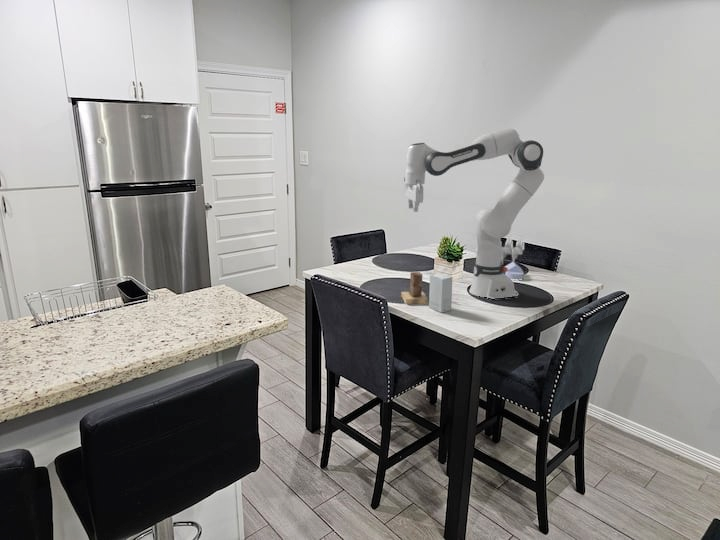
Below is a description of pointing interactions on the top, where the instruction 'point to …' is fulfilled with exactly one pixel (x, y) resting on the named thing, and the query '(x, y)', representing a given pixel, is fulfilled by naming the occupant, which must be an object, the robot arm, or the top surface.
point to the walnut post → (415, 284)
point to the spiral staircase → (511, 249)
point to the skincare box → (440, 292)
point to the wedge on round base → (514, 271)
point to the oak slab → (414, 298)
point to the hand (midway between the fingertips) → (413, 209)
